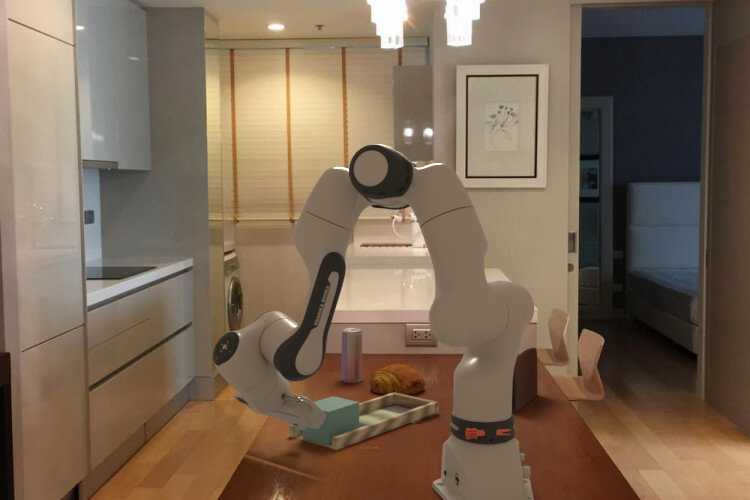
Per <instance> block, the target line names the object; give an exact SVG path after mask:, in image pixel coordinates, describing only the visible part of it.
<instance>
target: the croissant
mask: <svg viewBox="0 0 750 500" xmlns="http://www.w3.org/2000/svg"><path fill="white" fill-rule="evenodd" d="M369 384H370V388H371V390H372V391H373V392H374V393H377V394H382V395H383V394H384V395H387V394H390V393H393V392H395V393H400V394H404V395H409V396H411V395H414V394H418V393H419V392H422V390H425V387H426V382H425V380H424V378H423V375H422V374H421V373H420V372H419V371H417V370H416V369H415V368H414V367H413V366H412V365H407V364H402V363H394V364H389V365H385V366H383V367H380V368H379V369H377V370H375V371H374V372H373V373H372V374H371V375H370V381H369Z"/></svg>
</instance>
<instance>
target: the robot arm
mask: <svg viewBox="0 0 750 500" xmlns="http://www.w3.org/2000/svg"><path fill="white" fill-rule="evenodd" d="M368 207H372V208H373V209H384V210H390V211H391V210H392V211H394V210H395V211H397V210H398V211H399V210H405V209H408V208H411V209H412V211H413V213H414V215H415V217H416V221H417V223H418V226H419V229H420V230H421V234H422V236H423V237H422V238H423V240H424V242H425V245H426V248H427V251H428V253H429V257H430V260H431V263H432V264H431V265H432V268H433V272H434V280H435V283H434V284H435V287H434V290H435V292H434V293H435V294H434V299H433V301H432V304H431V306H430V307H429V308H430V309H429V313H428V323H429V328H430V330H431V332H432V334H433V336H434V337H435V339H436V340H437V341H439V342H440V343H441V344H443V345H445V346H448V347H453V348H454V347H455V348H465V350H464V354H463V356H462V358H461V360H460V361H459V363H458V364H457V366H456V367H455V369H454V372H453V383H452V385H453V389H452V390H453V391H452V392H453V396H452V398H453V399H452V400H453V401H452V403H453V404H452V405H453V406H452V407H453V408H452V411H451V414H450V419H449V424H450V433H451V434H450V436H449V437H448V438H447V440H445V441H444V443H443V444H442V451H441V472H440V478H438V479H435V480H434V481H433V482H432V489H433V490H434V491H435V492H436V493H437V494H438V496H439V497H440V498H442V499H443V500H535V499H534V494H533V488H532V484H531V480H530V479H531V476H532V475H531V474H532V471H531V466H530V465H522V462H523V461H525V460H526V459H525V457H526V455H525V453H523V452H522V453H521V452H520V441H519V440H518V439H517V438H516V421H515V417H514V413H512V386H513V373H514V367H515V363H516V358H517V357H518V356H519V355H518V354H519V350H520V346H521V343H522V341H523V337H524V334H525V331H526V329H527V328H528V326H529V325H530V323H531V322H532V320H533V317H534V314H535V303H534V299H533V297H532V295H531V293H530V291H529V290H527V288H526V287H524V286H523V285H521V284H520V283H517V282H511V281H506V280H505V281H504V280H496V281H490V282H488V281H487V276H486V273H485V257H486V254H487V252H488V249H489V244H488V240H487V238H486V235H485V232H484V230H483V228H482V225H481V222H480V219H479V217H478V214H477V212H476V210H475V207H474V204H473V202H472V200H471V198H470V195H469V194H468V192H467V189H466V188H465V186H464V184H463V182H462V181H461V179H460V177H459V176H458V174H457V173H456V171H455V170H454V169H453V167H452V166H450V165H449V164H445V163H441V162H439V163H437V162H436V163H430V164H427V165H424V166H422V167H418V166H417V165H416V164H415V163H414V162H412V161H411V160H410V159H409V158H408V157H407V156H406V155H404V154H403V153H402V152H400V151H398V150H396V149H394V148H392V147H391V146H389V145H387V144H382V143H381V144H380V143H372V144H367V145H365V146H363V147H361V148H360V149H358V150H356V152H355V153H354V155H353V156H352V157H351V159H350V162H349V167H348V168H347V167H341V166H335V167H334V166H333V167H330V168H328V169H326V170H325V171H324V172H323V173H322V175H321V176H320V177H319V179H318V180H317V182H316V184H315V185H314V187H313V189H312V190H311V192H310V194H309V196H308V197H307V200H306V201H305V203H304V206H303V209H302V210H301V212H300V215H299V217H298V220H297V222H296V225H295V228H294V229H295V230H294V236H293V239H294V240H293V241H294V245H295V248H296V251H297V253H298V254H299V256H300V258H301V260H302V261H303V264H304V265H305V267H306V270H307V272H308V276H309V286H308V292H307V295H306V299H305V301H304V305H303V308H302V310H301V311H302V312H301V314H300V318H299V320H298V322H297V321H295V319H293V318H292V317H290V316H288V314H285V313H284V312H282V311H280V310H276V309H274V310H269V311H266V312H264V313H261V314H260V315H259V316H258V317H257V318H256V319H255V320H254V321H253V322H252V323H251V324H249V325H247V326H245V327H243V328H241V329H238V330H231V331H228V332H226V333H225V334H223V335H222V336H221V337H220V338H219V340H217V342H216V344H215V346H214V348H213V351H212V360H213V365H214V366H215V368H216V369H217V371H218V373H219V375H221V376H222V378H223V379H224V380H225V381H226V382H227V383H228V385H230V386H231V387H232V388H233V389H235V390H236V391H235V393H234V394H233V398H234V399H235V401H237V402H239V403H242V404H243V405H245V406H246V407H247V408H249V409H248V410H250V411H251V412H254V413H256V414H259V415H262V416H266V417H270V418H273V419H277V420H281V421H284V422H286V423H287V424H290V425H292V426H293V427H294V428H297V429H301V430H306V428H307V427H309V428H313V429H316V430H318V429H319V428H320V427H321V426H322V424H323V422H324V420H325V418H326V414H325V413H324V412H323V411H322V410H321V409H320V408H319V407H318V406H317V405H316V404H315V403H314V402H315V401H312V400H311V399H310V398H308V397H307V396H303V395H300V394H296V393H292V392H291V385H290V382H302V381H304V380H307V379H309V378H311V377H312V376H314V375H315V374H316V373H317V372H319V370H320V368H322V365H323V363H324V361H325V357H326V352H327V341H328V335H329V331H330V327H331V325H332V321H333V318H334V315H335V312H336V308H337V306H338V302H339V299H340V296H341V292H342V288H343V285H344V281H345V277H346V272H347V271H346V270H347V266H346V265H347V264H346V256H347V251H348V246H349V243H350V239H351V237H352V234H353V232H354V230H355V227H356V225H357V222H358V220H359V218H360V216H361V215H362V212H363V211H365V209H367V208H368ZM289 381H290V382H289Z"/></svg>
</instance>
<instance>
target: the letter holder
mask: <svg viewBox="0 0 750 500" xmlns="http://www.w3.org/2000/svg"><path fill="white" fill-rule="evenodd" d="M538 394H539V393H538V349H537V348H536V347H530V348H527V349H525V350H524V351H522V352H521V353H520V354H519V355H517V358H516V363H515V367H514V373H513V386H512V414H517V413H518V412H519V411H521V409H522V408H523V407H525V406H526V405H527V404H529V402H530V401H532V400H533V399H534V398H535V397H537V396H538Z"/></svg>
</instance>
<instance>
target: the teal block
mask: <svg viewBox="0 0 750 500" xmlns="http://www.w3.org/2000/svg"><path fill="white" fill-rule="evenodd" d="M313 402H314V403H315V404H316V405H317V406H318V407H319V408H320V409H321V410H322V411H323V412H324V413H325V414H326V418H325V420H324V422H323V424H322V426H321V427H320V428H319V429H318V430H316V429H313V428H309V427H307V428H306V430H303V438H304V439H308V440H311V441H315V442H318V443H322V444H325V445H332V437H335V436H338V435H340V434H343V433H346V432H349V431H352V430H355V429H357V428H359V403H360V402H359V401H355V400H351V399H345V398H343V397H339V396H334V395H332V396H329V397H326V398H322V399H319V400H316V401H313Z"/></svg>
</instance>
